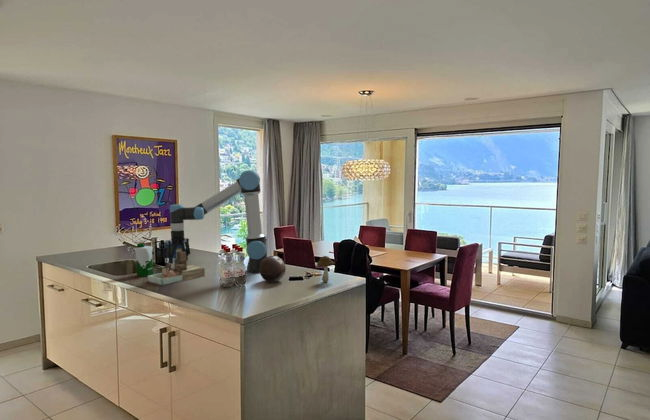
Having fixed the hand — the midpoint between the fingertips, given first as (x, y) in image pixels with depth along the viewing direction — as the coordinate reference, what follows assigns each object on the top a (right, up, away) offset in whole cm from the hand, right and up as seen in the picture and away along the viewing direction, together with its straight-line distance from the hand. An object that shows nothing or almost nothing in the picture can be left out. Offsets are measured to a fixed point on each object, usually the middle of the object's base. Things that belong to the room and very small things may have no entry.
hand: (179, 267), depth 253 cm
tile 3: (-7, -3, -2) cm, 8 cm away
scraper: (0, -1, 0) cm, 1 cm away
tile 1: (-1, -3, -7) cm, 8 cm away
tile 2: (-4, -5, -5) cm, 8 cm away
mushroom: (+89, -6, -14) cm, 91 cm away
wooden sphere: (+58, -7, -12) cm, 60 cm away
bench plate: (+3, -6, +4) cm, 8 cm away
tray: (-6, -7, -7) cm, 11 cm away
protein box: (-21, -3, +52) cm, 56 cm away
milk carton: (-25, -7, +10) cm, 28 cm away
